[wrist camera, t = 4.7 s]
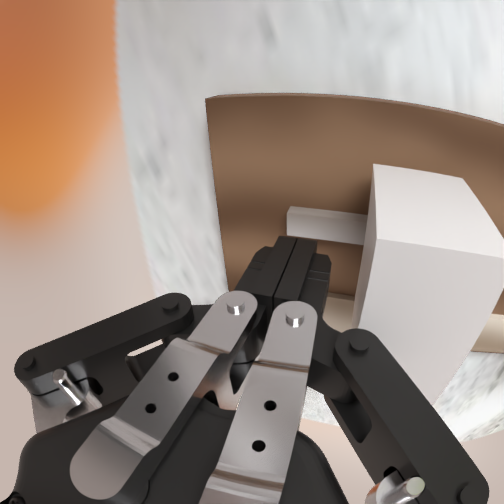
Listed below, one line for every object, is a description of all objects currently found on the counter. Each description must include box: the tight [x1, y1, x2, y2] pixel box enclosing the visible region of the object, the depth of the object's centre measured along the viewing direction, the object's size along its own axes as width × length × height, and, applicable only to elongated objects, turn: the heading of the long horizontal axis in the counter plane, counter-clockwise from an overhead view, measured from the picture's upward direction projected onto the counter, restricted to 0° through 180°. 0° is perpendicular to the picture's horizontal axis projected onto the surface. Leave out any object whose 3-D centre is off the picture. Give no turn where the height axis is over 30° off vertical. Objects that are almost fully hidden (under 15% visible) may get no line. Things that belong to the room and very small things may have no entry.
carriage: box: [351, 164, 504, 405], centre depth 12 cm, size 11×4×6 cm, turn 4°
